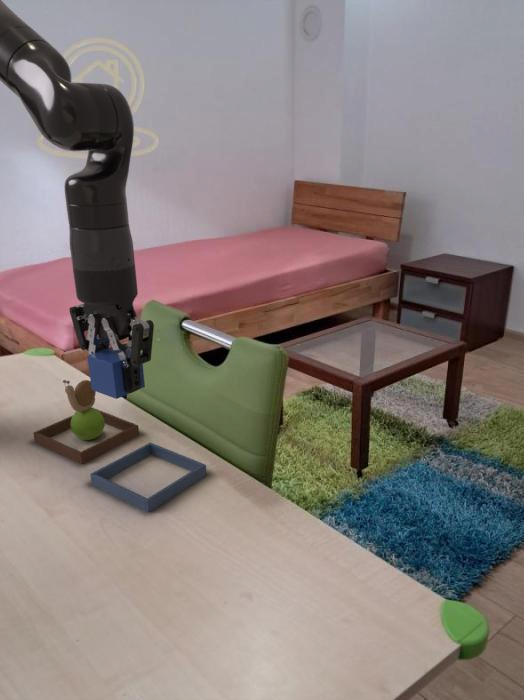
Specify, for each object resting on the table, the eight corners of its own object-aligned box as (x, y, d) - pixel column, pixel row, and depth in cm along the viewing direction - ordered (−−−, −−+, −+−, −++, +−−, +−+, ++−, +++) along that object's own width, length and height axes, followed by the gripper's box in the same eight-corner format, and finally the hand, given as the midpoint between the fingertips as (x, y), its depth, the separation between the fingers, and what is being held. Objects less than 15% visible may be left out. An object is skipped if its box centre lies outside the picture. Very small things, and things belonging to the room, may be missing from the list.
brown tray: (35, 445, 106) (32, 432, 104) (93, 419, 115) (91, 407, 113) (82, 467, 99) (80, 453, 98) (139, 438, 108) (138, 425, 107)
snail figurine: (61, 444, 105) (51, 378, 100) (87, 428, 110) (78, 364, 105) (88, 451, 103) (79, 383, 98) (112, 434, 109) (105, 369, 104)
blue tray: (92, 488, 94) (89, 474, 93) (151, 455, 103) (150, 442, 102) (148, 516, 88) (147, 501, 87) (206, 478, 97) (206, 464, 96)
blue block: (91, 390, 86) (86, 355, 83) (120, 378, 89) (116, 345, 87) (116, 399, 83) (112, 363, 81) (145, 386, 87) (141, 352, 85)
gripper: (166, 264, 78) (176, 389, 85) (90, 249, 85) (105, 366, 93) (119, 276, 72) (133, 409, 80) (42, 258, 80) (61, 382, 87)
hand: (118, 385), depth 86 cm, fingers closed on blue block, 5 cm apart
